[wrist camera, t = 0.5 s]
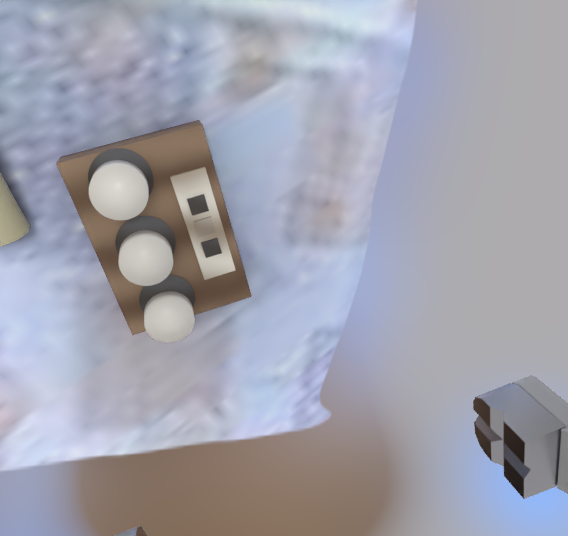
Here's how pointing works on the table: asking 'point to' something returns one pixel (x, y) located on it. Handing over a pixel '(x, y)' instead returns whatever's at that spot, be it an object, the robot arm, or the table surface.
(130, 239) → the middle button
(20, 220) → the flower vase
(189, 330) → the outer button
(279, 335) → the table surface
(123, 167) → the inner button
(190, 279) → the button board
